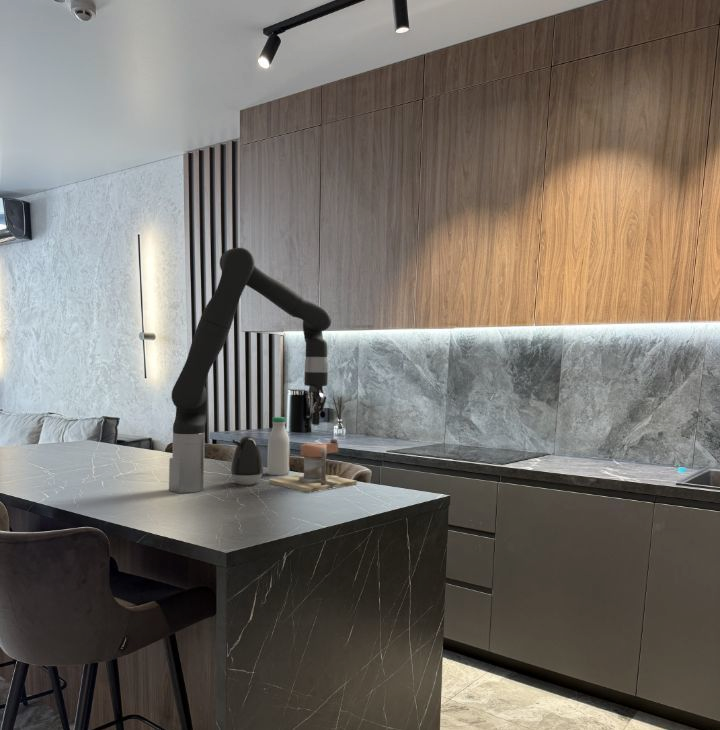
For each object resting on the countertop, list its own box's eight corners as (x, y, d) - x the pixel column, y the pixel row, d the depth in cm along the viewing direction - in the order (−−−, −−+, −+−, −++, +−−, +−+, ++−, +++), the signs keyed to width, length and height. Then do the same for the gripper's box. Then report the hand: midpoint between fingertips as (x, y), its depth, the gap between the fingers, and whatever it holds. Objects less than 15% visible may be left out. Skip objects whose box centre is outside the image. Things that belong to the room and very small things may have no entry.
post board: (309, 492, 177) (310, 450, 177) (269, 483, 191) (269, 444, 191) (356, 484, 191) (357, 445, 191) (315, 476, 205) (316, 440, 205)
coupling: (312, 457, 185) (312, 443, 185) (295, 454, 191) (295, 441, 191) (344, 453, 195) (345, 440, 195) (327, 451, 201) (327, 438, 201)
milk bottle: (287, 476, 205) (288, 418, 205) (265, 475, 205) (266, 417, 205) (290, 472, 212) (291, 416, 213) (268, 471, 212) (269, 416, 213)
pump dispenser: (224, 483, 190) (225, 435, 190) (252, 479, 197) (253, 433, 197) (239, 488, 182) (240, 438, 182) (268, 484, 189) (269, 436, 189)
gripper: (334, 371, 188) (333, 426, 188) (319, 371, 200) (318, 422, 200) (312, 371, 185) (311, 426, 185) (298, 371, 197) (297, 423, 197)
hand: (315, 424), depth 192 cm, fingers closed
